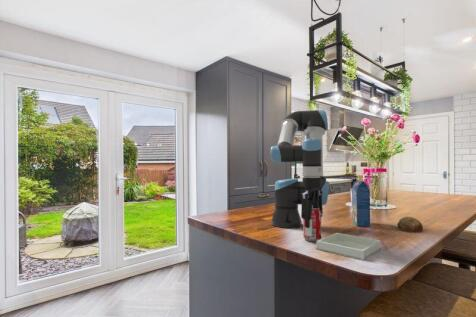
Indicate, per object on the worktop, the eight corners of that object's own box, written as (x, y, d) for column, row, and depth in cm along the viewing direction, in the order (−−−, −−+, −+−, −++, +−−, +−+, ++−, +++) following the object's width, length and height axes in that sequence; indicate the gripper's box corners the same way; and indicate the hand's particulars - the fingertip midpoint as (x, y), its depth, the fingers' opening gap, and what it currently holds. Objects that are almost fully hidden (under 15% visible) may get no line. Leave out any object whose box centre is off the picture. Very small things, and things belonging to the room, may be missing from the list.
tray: (316, 249, 101) (316, 241, 101) (336, 240, 113) (336, 232, 113) (363, 260, 90) (363, 251, 90) (380, 248, 101) (380, 240, 102)
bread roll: (396, 235, 134) (389, 220, 134) (414, 225, 135) (407, 211, 135) (410, 241, 125) (403, 225, 124) (430, 230, 125) (422, 214, 125)
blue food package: (356, 226, 137) (356, 175, 137) (351, 221, 149) (351, 174, 149) (370, 227, 135) (369, 176, 136) (364, 222, 147) (364, 174, 148)
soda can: (323, 242, 110) (323, 208, 110) (304, 241, 110) (304, 208, 111) (319, 237, 117) (319, 206, 117) (301, 237, 117) (301, 206, 118)
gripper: (308, 178, 103) (309, 240, 103) (331, 176, 117) (331, 231, 117) (291, 177, 109) (291, 236, 109) (314, 175, 122) (315, 228, 122)
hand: (312, 233), depth 113 cm, fingers open, 6 cm apart
